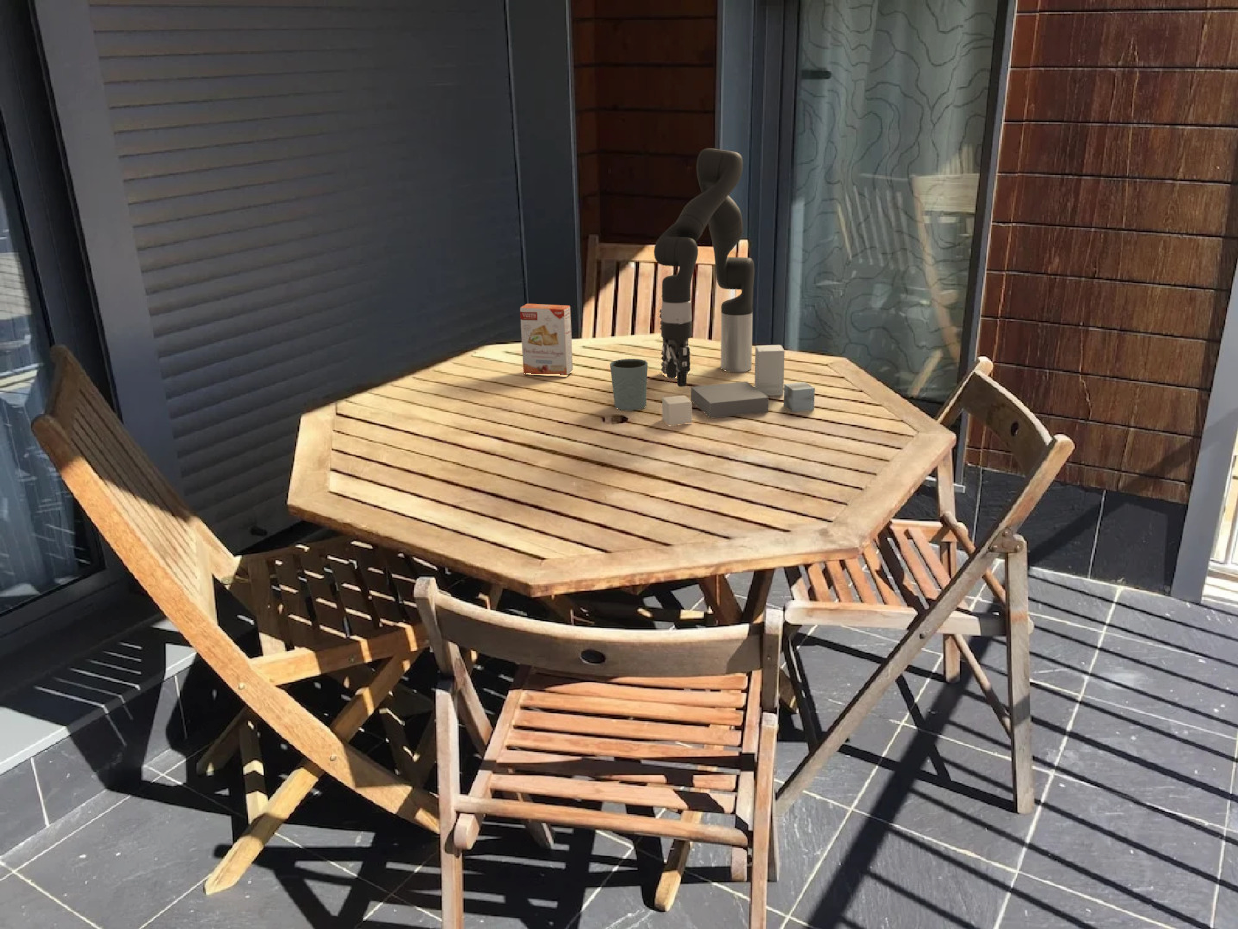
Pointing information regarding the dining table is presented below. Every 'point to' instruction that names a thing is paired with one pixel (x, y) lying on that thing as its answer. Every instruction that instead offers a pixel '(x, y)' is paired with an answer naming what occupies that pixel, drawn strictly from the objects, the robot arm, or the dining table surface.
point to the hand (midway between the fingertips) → (676, 381)
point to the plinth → (729, 399)
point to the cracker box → (546, 339)
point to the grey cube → (799, 397)
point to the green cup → (629, 383)
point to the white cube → (676, 410)
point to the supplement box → (769, 369)
